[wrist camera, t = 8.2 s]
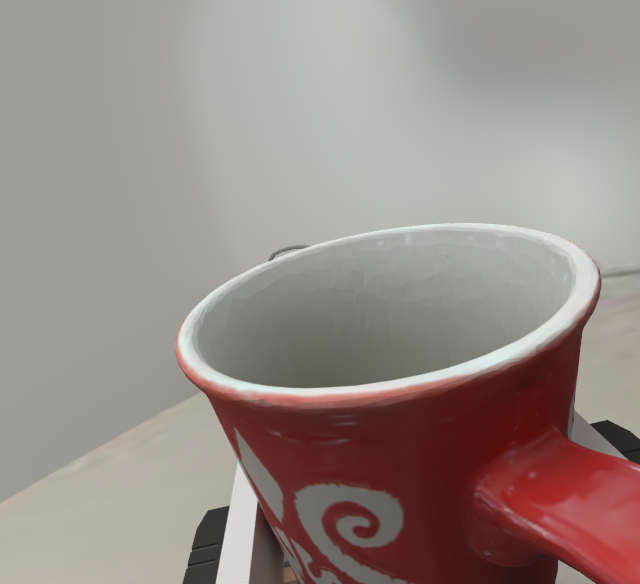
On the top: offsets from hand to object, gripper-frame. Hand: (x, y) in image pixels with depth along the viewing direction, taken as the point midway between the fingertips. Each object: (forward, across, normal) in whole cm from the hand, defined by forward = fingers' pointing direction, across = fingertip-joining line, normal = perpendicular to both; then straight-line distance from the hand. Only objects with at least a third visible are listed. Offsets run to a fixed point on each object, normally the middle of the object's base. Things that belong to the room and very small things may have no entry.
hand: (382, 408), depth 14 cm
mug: (-5, 0, -7) cm, 9 cm away
